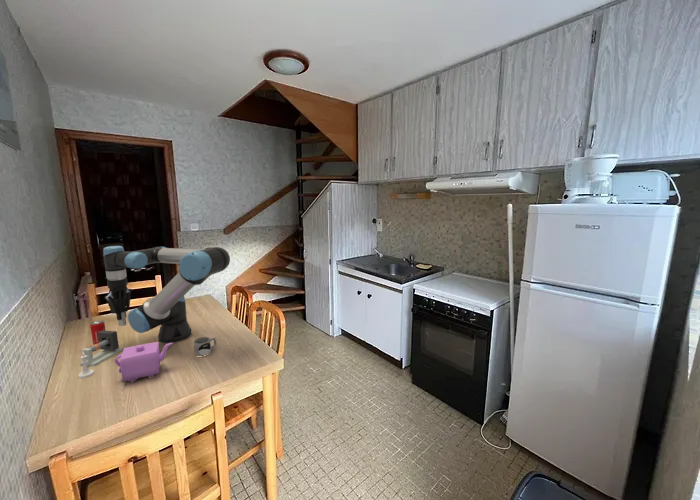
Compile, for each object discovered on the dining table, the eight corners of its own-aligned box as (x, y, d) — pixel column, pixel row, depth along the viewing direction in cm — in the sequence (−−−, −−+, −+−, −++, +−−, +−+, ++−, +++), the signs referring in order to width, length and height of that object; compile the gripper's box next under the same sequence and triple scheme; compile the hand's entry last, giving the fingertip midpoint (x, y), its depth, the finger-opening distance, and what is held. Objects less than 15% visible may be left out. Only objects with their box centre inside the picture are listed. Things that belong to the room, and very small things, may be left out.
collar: (105, 346, 138) (102, 330, 136) (118, 347, 137) (116, 331, 136) (100, 349, 135) (97, 332, 134) (114, 350, 135) (112, 333, 133)
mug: (199, 358, 132) (198, 345, 131) (192, 354, 136) (191, 340, 135) (220, 350, 140) (219, 337, 139) (213, 345, 144) (212, 333, 143)
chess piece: (93, 369, 123) (89, 347, 121) (95, 374, 120) (92, 351, 118) (77, 375, 119) (73, 352, 118) (79, 379, 116) (75, 356, 115)
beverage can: (99, 348, 140) (95, 325, 138) (90, 347, 141) (87, 324, 140) (110, 343, 145) (106, 320, 144) (101, 342, 147) (98, 319, 145)
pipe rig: (109, 349, 140) (107, 334, 139) (122, 350, 139) (121, 335, 138) (80, 365, 126) (77, 349, 125) (94, 366, 126) (92, 350, 124)
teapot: (114, 387, 112) (110, 356, 110) (119, 373, 120) (115, 345, 118) (175, 372, 122) (172, 344, 120) (175, 361, 130) (173, 334, 128)
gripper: (121, 274, 146) (127, 319, 150) (96, 281, 133) (103, 330, 137) (135, 275, 145) (140, 320, 149) (111, 282, 132) (117, 331, 136)
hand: (122, 325), depth 143 cm, fingers closed
